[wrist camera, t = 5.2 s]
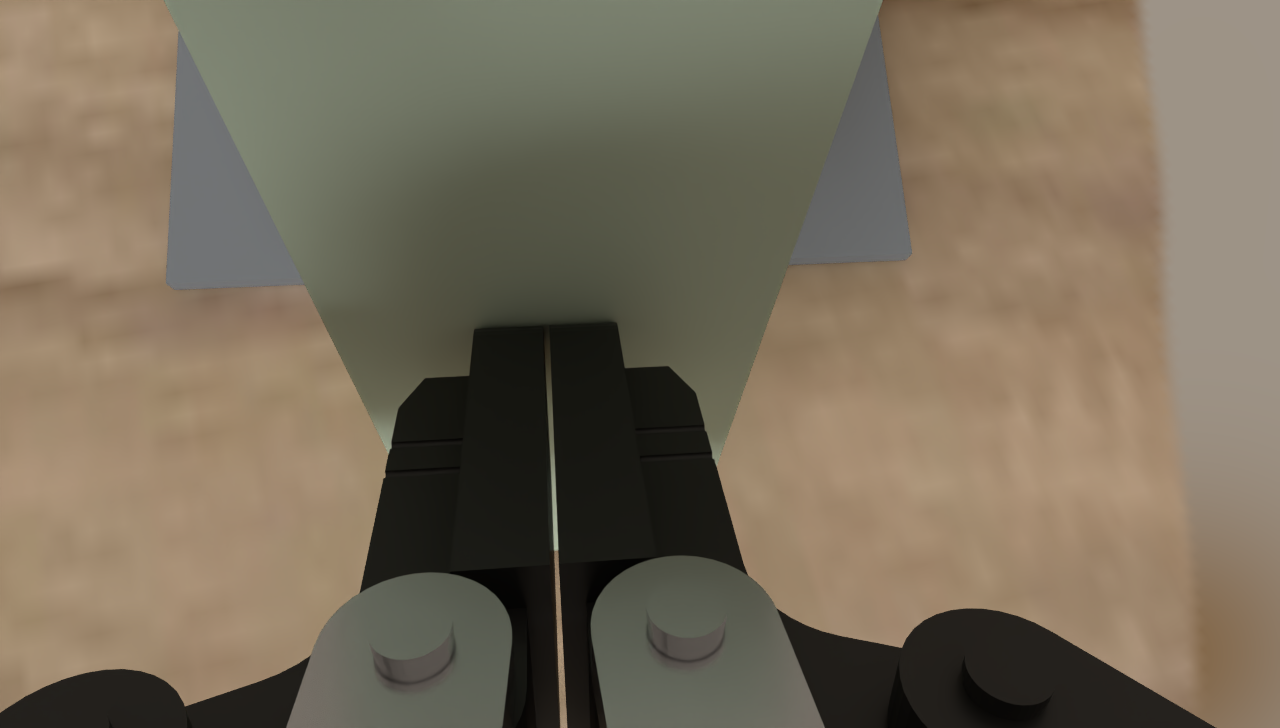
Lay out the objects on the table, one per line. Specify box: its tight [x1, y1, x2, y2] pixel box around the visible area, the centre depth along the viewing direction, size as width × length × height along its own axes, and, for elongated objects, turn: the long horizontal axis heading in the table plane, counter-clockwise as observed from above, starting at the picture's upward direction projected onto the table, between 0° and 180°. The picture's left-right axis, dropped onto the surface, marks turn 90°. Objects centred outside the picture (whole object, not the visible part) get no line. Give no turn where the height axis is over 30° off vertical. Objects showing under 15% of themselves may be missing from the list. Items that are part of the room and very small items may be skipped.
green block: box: [164, 0, 883, 551], centre depth 12 cm, size 4×4×13 cm
